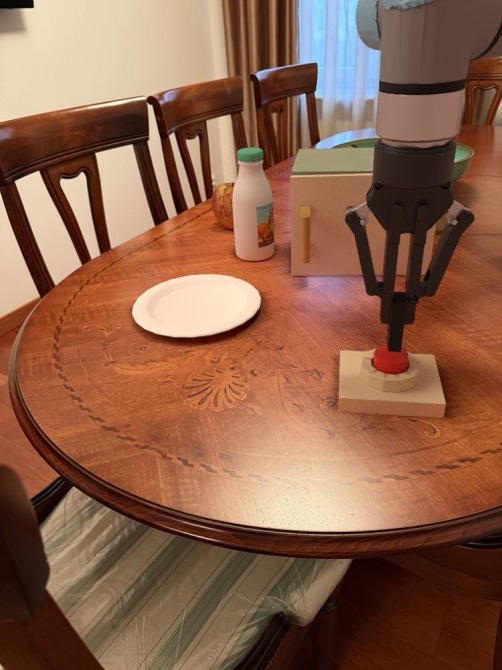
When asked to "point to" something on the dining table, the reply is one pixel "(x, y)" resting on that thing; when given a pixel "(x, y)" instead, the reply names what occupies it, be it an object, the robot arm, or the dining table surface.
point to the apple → (224, 204)
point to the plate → (196, 306)
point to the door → (338, 228)
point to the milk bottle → (252, 208)
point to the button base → (390, 386)
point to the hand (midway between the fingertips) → (393, 345)
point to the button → (390, 360)
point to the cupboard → (333, 161)
